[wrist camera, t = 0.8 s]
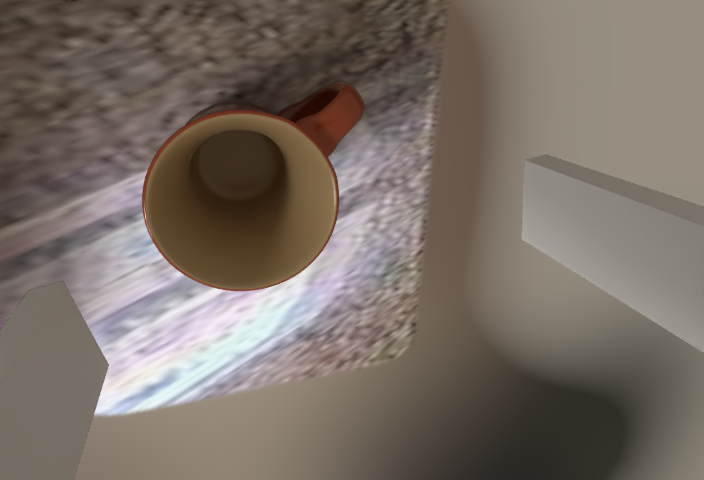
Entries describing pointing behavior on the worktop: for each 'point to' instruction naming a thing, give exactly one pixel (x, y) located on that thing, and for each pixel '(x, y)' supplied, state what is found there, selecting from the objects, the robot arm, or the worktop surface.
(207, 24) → the worktop surface
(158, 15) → the worktop surface
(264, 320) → the worktop surface
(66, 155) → the worktop surface
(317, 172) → the mug
